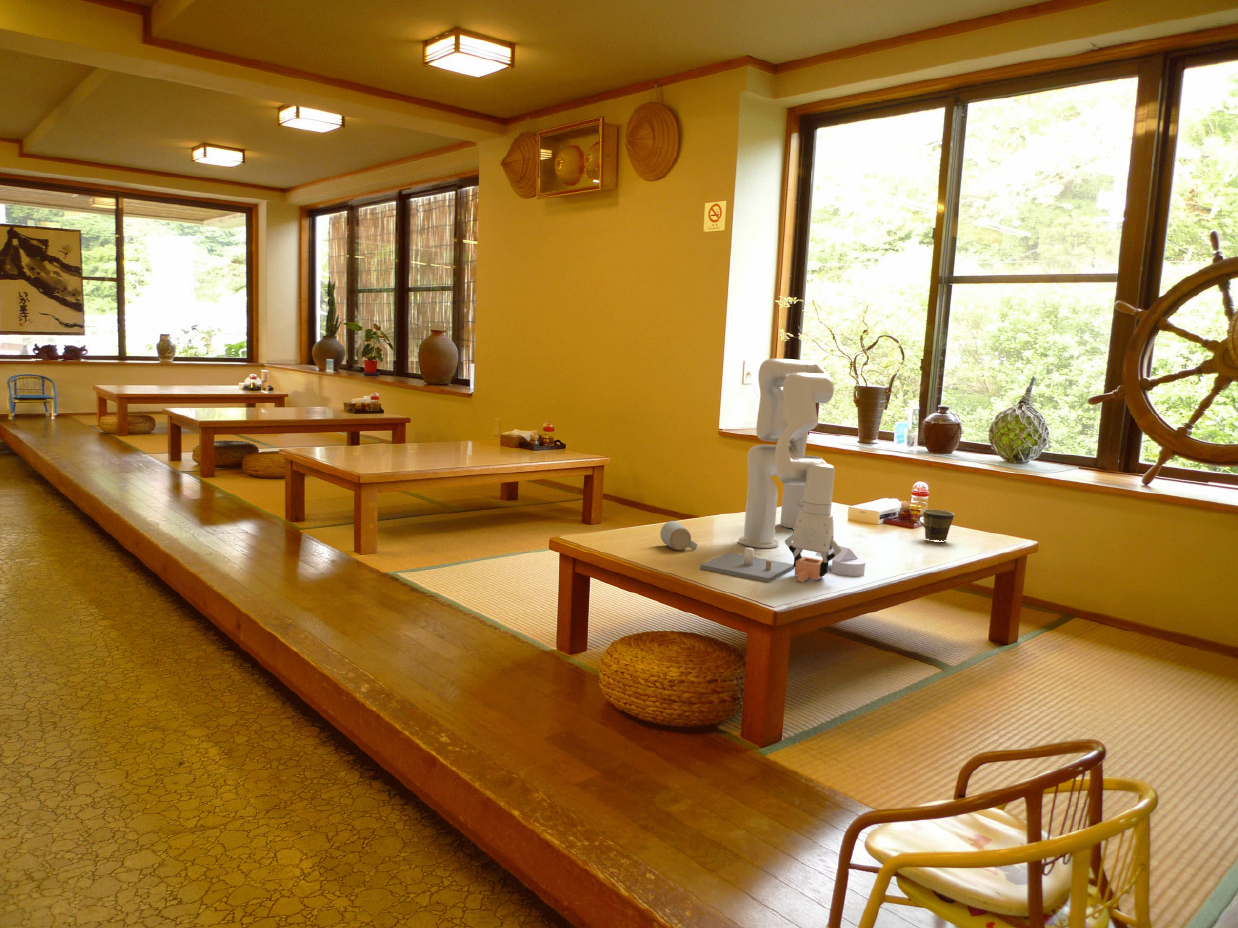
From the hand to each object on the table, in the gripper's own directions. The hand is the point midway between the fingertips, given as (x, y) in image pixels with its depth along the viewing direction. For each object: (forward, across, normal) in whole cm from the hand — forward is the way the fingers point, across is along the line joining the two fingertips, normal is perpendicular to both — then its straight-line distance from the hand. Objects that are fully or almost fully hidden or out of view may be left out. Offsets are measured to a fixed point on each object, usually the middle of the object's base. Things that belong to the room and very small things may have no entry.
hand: (810, 572), depth 239 cm
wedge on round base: (+2, +4, +16) cm, 16 cm away
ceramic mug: (+2, -43, +6) cm, 43 cm away
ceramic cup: (+3, +16, +82) cm, 83 cm away
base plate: (+2, -17, -3) cm, 17 cm away
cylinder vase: (+3, -27, +68) cm, 73 cm away
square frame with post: (+1, 0, -2) cm, 3 cm away
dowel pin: (0, -10, -5) cm, 11 cm away
